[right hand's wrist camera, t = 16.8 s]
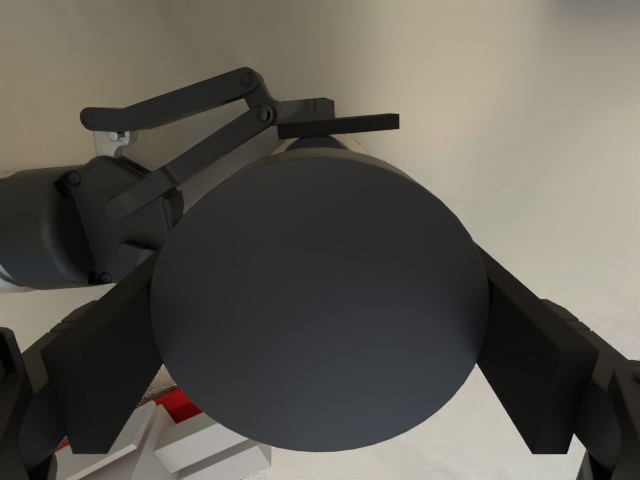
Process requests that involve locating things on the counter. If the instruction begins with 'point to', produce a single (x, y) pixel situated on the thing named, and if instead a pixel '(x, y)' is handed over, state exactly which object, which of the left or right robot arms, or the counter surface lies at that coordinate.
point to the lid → (319, 301)
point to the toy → (169, 448)
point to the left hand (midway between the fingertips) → (395, 201)
